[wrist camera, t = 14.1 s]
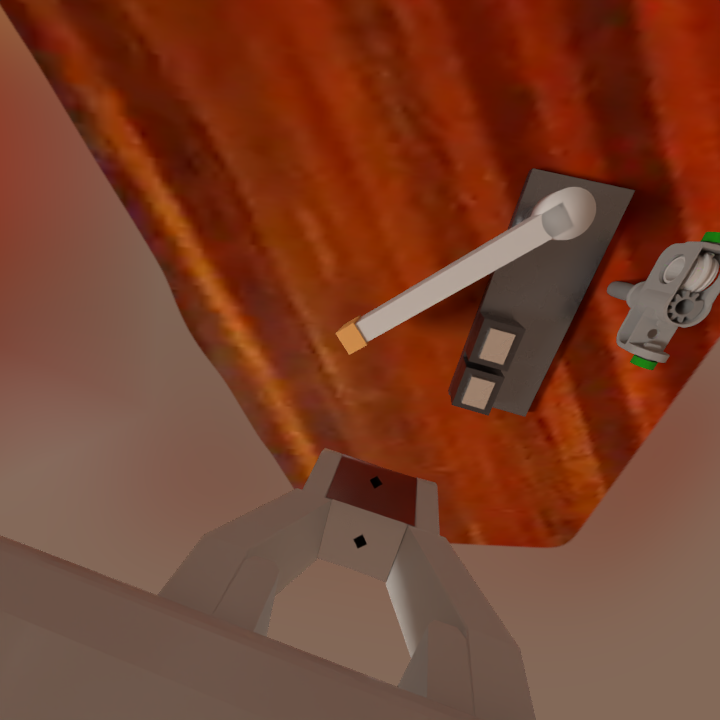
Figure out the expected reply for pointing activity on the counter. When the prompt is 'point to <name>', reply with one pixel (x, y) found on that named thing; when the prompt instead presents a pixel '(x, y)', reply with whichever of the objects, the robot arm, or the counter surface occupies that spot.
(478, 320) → the block
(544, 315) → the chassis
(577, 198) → the lever
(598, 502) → the counter surface
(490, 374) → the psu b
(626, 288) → the mechanical component
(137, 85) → the counter surface
